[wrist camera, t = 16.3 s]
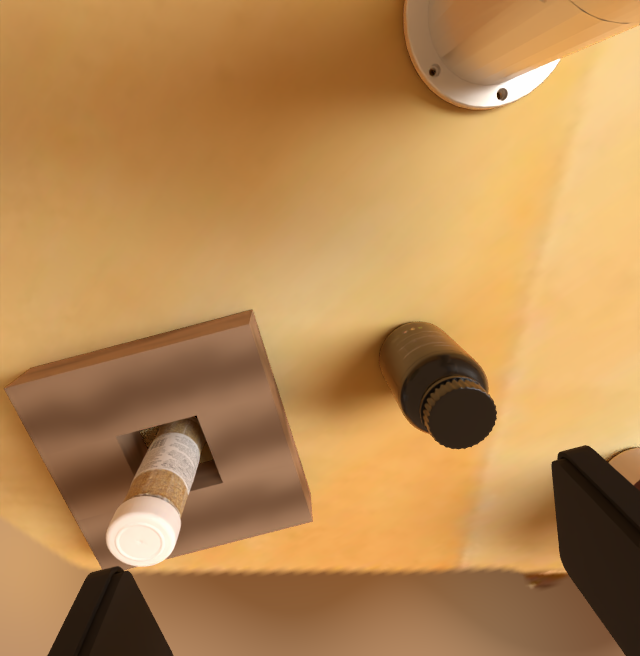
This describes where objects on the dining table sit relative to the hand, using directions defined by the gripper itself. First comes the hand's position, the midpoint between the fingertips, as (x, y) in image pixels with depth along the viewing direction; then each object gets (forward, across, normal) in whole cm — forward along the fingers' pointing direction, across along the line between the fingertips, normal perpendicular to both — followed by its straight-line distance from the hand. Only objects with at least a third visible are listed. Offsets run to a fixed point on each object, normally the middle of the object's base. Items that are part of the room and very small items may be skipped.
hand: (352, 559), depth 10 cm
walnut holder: (+30, +15, +12) cm, 36 cm away
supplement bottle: (+31, -8, +10) cm, 33 cm away
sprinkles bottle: (+31, +15, +12) cm, 36 cm away
